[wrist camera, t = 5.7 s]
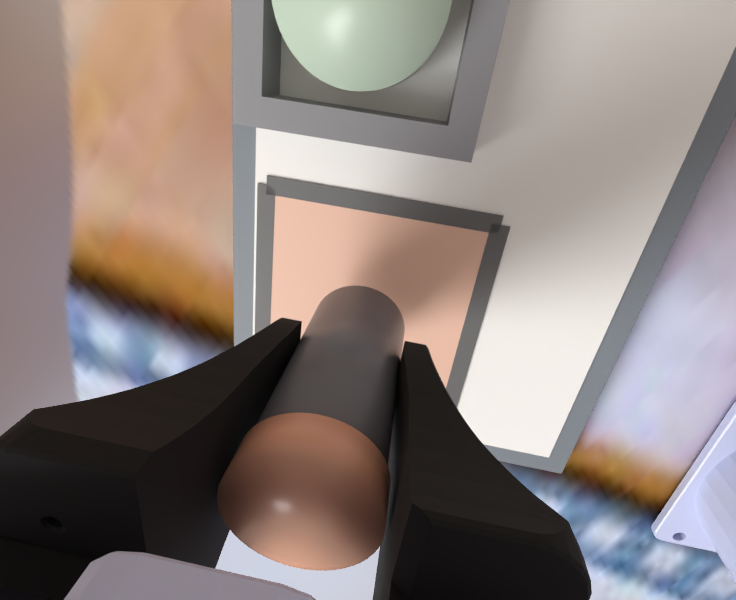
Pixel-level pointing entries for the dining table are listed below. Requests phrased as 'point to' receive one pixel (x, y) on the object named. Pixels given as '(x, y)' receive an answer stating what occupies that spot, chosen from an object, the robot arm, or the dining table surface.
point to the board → (486, 192)
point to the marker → (323, 441)
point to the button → (362, 38)
